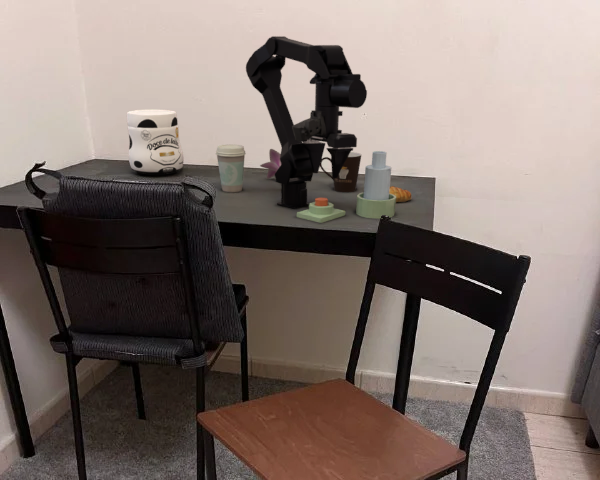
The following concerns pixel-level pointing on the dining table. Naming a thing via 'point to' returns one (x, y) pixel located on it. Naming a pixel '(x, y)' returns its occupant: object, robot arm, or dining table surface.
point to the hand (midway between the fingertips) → (324, 175)
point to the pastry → (400, 194)
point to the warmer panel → (320, 213)
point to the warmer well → (375, 207)
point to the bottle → (377, 178)
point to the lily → (272, 163)
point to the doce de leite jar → (154, 142)
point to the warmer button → (321, 202)
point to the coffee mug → (346, 173)
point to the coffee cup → (231, 166)
